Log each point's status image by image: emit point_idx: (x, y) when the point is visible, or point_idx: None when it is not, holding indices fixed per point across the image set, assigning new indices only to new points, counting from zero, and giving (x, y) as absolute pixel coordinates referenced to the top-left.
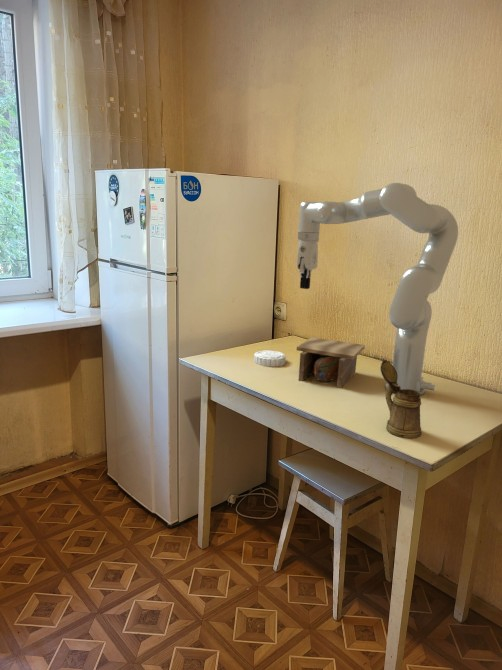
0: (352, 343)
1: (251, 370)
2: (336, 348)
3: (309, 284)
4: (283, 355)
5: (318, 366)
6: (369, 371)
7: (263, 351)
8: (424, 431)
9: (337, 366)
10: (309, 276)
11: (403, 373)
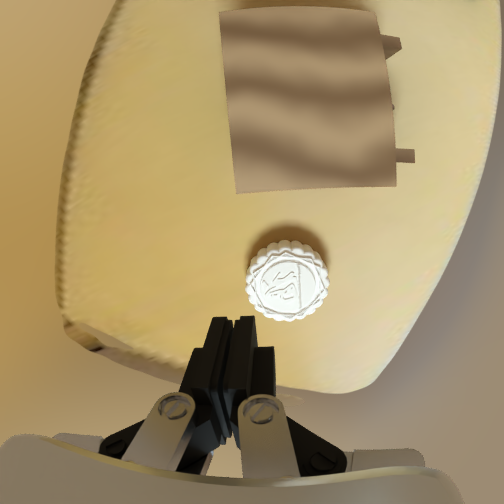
0: (225, 45)
1: (372, 279)
2: (332, 66)
3: (219, 337)
4: (275, 255)
5: (393, 108)
6: (199, 40)
7: (277, 309)
8: None
9: None
10: (195, 405)
11: None
